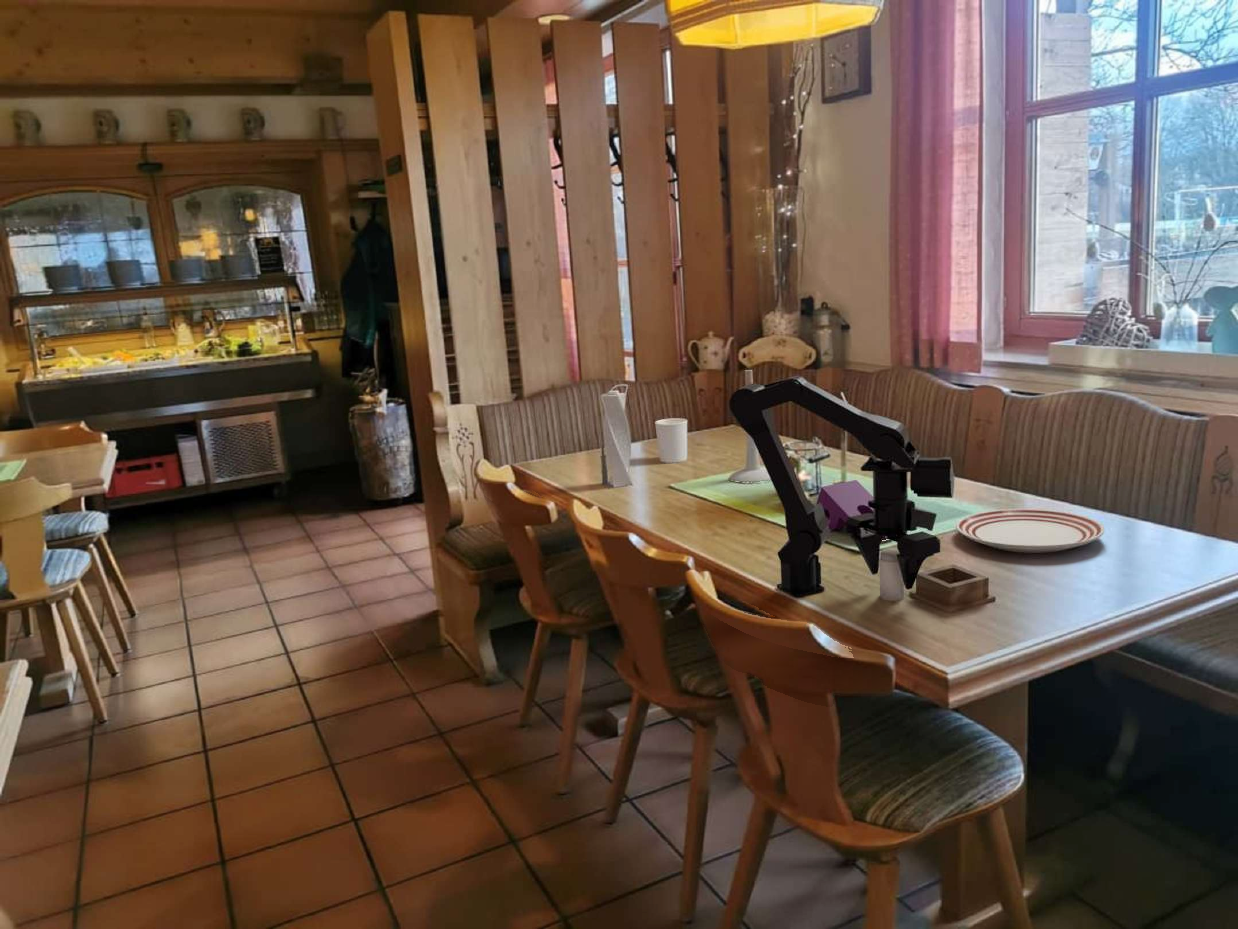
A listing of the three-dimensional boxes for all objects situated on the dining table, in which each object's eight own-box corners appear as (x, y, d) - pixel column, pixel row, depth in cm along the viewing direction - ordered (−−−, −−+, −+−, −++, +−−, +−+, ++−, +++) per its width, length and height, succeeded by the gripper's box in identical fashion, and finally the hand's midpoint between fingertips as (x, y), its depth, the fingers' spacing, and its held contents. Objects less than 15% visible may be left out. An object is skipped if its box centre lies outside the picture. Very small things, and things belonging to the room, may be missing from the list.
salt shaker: (890, 602, 163) (889, 558, 162) (875, 595, 167) (874, 552, 165) (908, 597, 165) (908, 554, 163) (893, 591, 168) (893, 548, 167)
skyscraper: (629, 480, 266) (622, 382, 260) (639, 486, 259) (631, 385, 253) (601, 484, 264) (593, 385, 258) (610, 490, 256) (602, 388, 250)
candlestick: (787, 476, 255) (782, 366, 248) (751, 486, 248) (746, 373, 242) (755, 470, 265) (750, 364, 259) (720, 478, 259) (714, 370, 252)
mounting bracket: (895, 560, 202) (846, 509, 214) (906, 530, 197) (856, 479, 209) (859, 569, 198) (812, 516, 211) (869, 539, 193) (821, 486, 206)
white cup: (690, 462, 281) (688, 422, 278) (657, 464, 281) (655, 425, 279) (688, 455, 291) (686, 417, 288) (657, 457, 291) (654, 419, 288)
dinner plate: (927, 535, 198) (927, 520, 197) (1025, 513, 208) (1025, 498, 207) (1030, 572, 173) (1030, 554, 172) (1136, 544, 183) (1137, 528, 182)
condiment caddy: (949, 612, 157) (949, 590, 156) (909, 594, 166) (909, 573, 165) (995, 600, 161) (995, 578, 160) (953, 583, 170) (953, 562, 169)
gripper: (966, 498, 156) (965, 587, 160) (892, 477, 173) (893, 558, 177) (912, 510, 152) (913, 601, 156) (842, 487, 169) (844, 570, 173)
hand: (891, 581), depth 165 cm, fingers open, 9 cm apart
